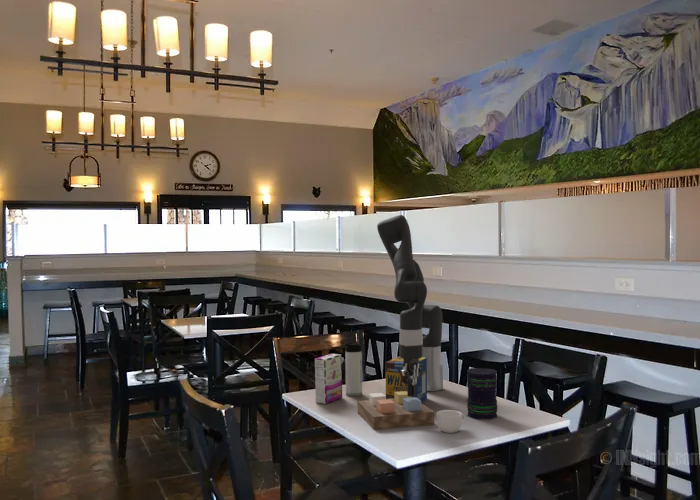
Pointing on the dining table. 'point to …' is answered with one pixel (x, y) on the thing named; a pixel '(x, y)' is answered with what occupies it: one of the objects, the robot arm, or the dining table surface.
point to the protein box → (396, 382)
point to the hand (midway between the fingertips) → (411, 396)
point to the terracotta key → (385, 406)
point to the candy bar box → (328, 378)
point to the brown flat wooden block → (395, 416)
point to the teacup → (449, 420)
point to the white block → (376, 398)
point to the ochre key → (400, 396)
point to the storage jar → (482, 393)
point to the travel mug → (353, 369)
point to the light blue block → (411, 404)
